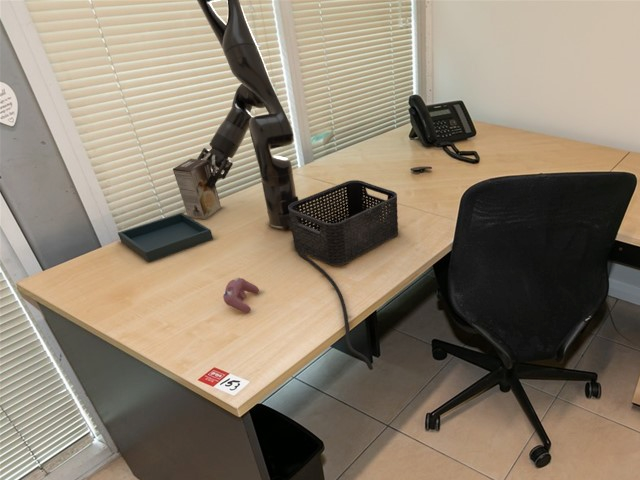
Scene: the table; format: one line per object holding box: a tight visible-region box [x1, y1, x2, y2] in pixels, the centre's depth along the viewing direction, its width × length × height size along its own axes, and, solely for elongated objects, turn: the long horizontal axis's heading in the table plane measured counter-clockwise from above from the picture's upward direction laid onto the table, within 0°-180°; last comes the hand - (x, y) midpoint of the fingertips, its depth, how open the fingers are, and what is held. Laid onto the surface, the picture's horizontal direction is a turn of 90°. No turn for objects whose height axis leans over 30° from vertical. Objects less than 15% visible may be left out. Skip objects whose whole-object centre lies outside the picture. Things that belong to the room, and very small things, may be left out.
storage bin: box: [288, 179, 399, 267], centre depth 153 cm, size 29×19×13 cm
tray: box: [117, 212, 214, 263], centre depth 150 cm, size 17×19×3 cm
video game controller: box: [222, 277, 260, 314], centre depth 127 cm, size 10×5×7 cm, turn 5°
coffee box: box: [172, 158, 222, 220], centre depth 162 cm, size 9×6×16 cm
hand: (201, 183), depth 163 cm, fingers closed on coffee box, 7 cm apart
